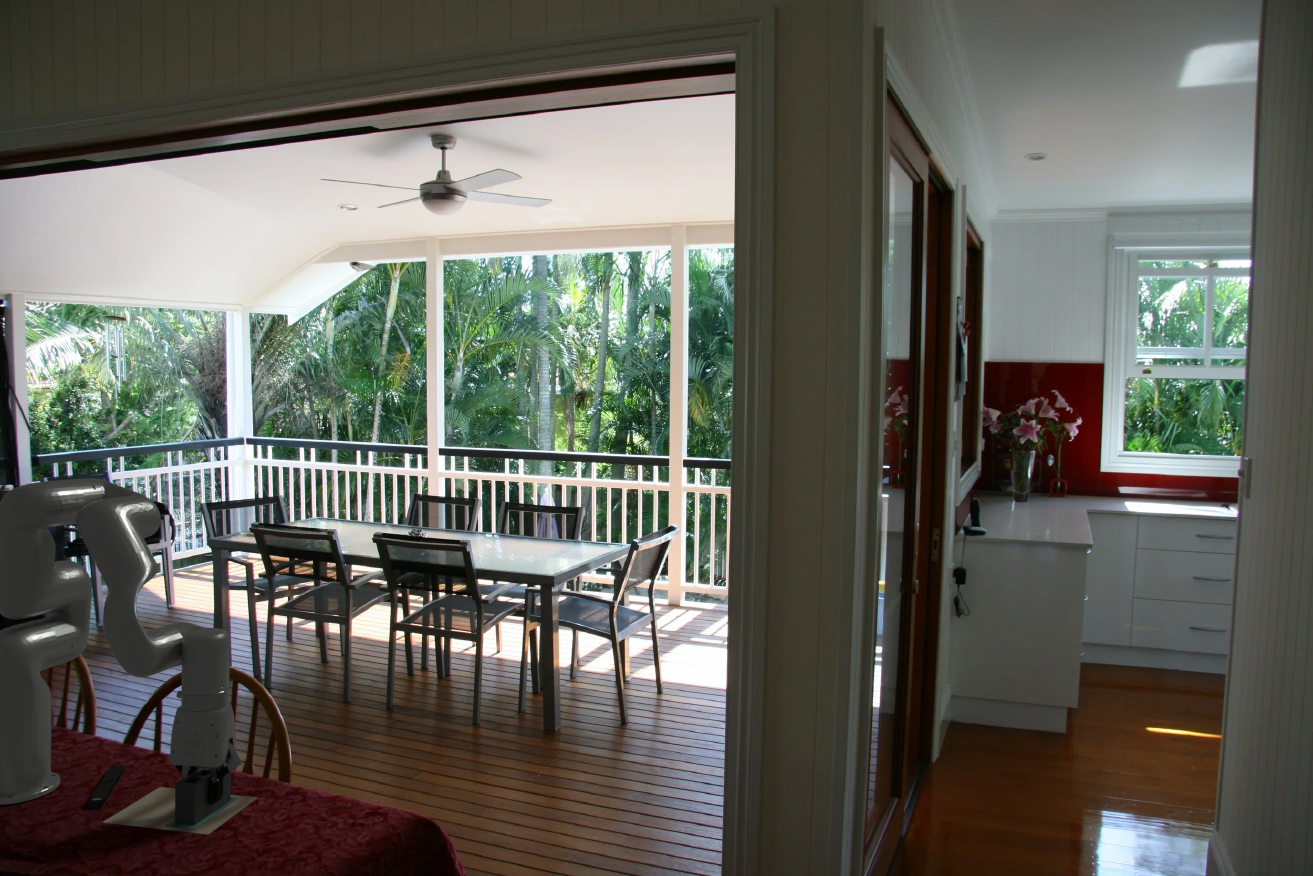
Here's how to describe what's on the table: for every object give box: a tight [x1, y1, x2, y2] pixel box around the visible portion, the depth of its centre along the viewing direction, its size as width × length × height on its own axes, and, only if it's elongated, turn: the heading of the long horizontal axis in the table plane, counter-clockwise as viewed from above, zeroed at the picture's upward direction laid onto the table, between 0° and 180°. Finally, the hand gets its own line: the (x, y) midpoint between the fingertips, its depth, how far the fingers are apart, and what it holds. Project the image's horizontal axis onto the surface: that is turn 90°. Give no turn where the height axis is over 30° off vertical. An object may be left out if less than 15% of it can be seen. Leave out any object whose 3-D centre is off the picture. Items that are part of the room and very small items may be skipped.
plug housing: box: [174, 761, 232, 825], centre depth 153 cm, size 10×4×7 cm, turn 172°
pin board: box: [102, 786, 258, 835], centre depth 153 cm, size 20×14×5 cm
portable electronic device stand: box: [87, 763, 127, 810], centre depth 161 cm, size 18×3×3 cm, turn 20°
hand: (203, 799), depth 153 cm, fingers closed on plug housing, 3 cm apart
